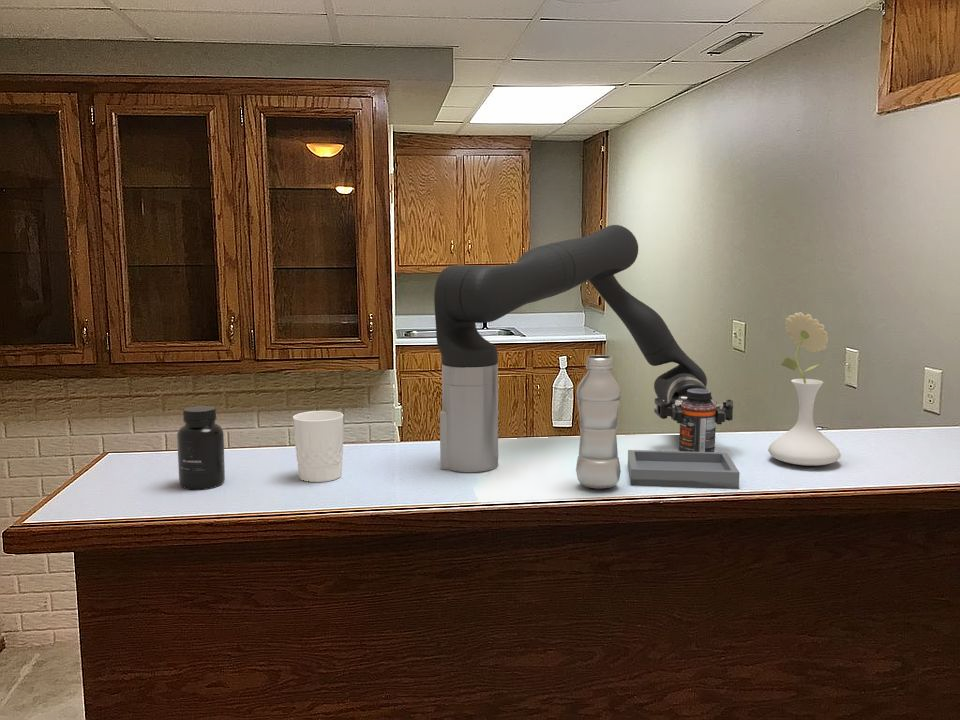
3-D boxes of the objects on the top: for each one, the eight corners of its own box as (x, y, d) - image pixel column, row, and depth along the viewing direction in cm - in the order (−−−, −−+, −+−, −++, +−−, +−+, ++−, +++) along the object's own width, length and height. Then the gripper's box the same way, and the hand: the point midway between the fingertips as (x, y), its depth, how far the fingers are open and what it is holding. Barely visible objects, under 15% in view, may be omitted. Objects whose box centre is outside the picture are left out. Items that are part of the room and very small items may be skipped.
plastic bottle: (619, 494, 123) (621, 360, 120) (573, 492, 124) (574, 359, 121) (621, 482, 129) (623, 354, 126) (577, 480, 130) (578, 353, 128)
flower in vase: (854, 469, 135) (863, 315, 132) (789, 473, 133) (796, 317, 130) (811, 449, 148) (818, 309, 144) (750, 452, 146) (756, 310, 143)
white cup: (315, 467, 139) (313, 409, 137) (355, 473, 135) (353, 413, 134) (285, 480, 132) (282, 418, 130) (325, 486, 128) (323, 422, 127)
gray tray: (630, 485, 127) (631, 469, 127) (627, 464, 139) (628, 449, 139) (738, 488, 125) (739, 472, 125) (726, 467, 137) (727, 452, 137)
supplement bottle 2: (671, 453, 144) (673, 389, 142) (696, 449, 147) (699, 385, 145) (696, 461, 139) (698, 394, 137) (722, 456, 142) (724, 391, 140)
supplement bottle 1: (183, 493, 125) (178, 414, 124) (176, 481, 131) (171, 406, 130) (229, 486, 129) (225, 410, 127) (221, 475, 135) (217, 402, 133)
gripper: (650, 378, 156) (656, 394, 140) (729, 379, 154) (745, 397, 138) (649, 417, 157) (655, 438, 141) (727, 419, 155) (743, 441, 139)
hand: (699, 417), depth 139 cm, fingers closed on supplement bottle 2, 6 cm apart
